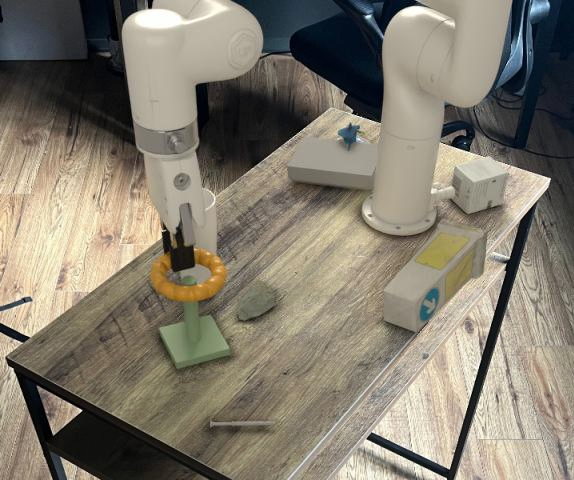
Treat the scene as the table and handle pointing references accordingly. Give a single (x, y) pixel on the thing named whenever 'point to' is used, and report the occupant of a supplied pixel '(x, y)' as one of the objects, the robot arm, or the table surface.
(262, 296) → the rock
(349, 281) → the table surface
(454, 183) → the product carton
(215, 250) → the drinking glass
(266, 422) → the wall anchor
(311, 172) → the flat grey box
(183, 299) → the ring
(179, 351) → the rack
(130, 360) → the table surface
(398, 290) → the toppled traffic bollard
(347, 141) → the toy figurine
